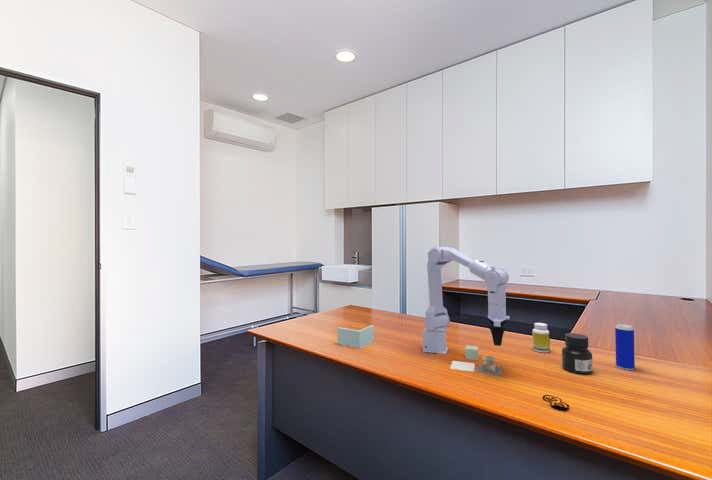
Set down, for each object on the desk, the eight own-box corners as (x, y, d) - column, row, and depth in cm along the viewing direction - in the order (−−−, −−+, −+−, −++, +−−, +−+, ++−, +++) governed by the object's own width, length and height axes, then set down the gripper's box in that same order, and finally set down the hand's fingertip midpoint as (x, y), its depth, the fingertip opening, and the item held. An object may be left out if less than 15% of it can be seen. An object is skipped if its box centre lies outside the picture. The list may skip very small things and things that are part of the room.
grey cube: (483, 370, 113) (482, 359, 113) (483, 366, 117) (483, 355, 117) (495, 372, 112) (495, 360, 112) (495, 368, 115) (495, 356, 115)
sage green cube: (465, 360, 125) (465, 348, 125) (466, 356, 129) (466, 345, 129) (477, 361, 123) (477, 350, 123) (478, 357, 127) (478, 346, 127)
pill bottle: (552, 353, 130) (551, 326, 130) (535, 352, 132) (535, 325, 132) (546, 348, 136) (546, 322, 137) (530, 347, 138) (530, 321, 138)
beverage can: (630, 365, 117) (629, 324, 117) (637, 371, 112) (636, 328, 112) (613, 364, 118) (612, 323, 118) (619, 369, 113) (618, 327, 113)
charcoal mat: (476, 373, 112) (476, 372, 112) (477, 365, 120) (477, 363, 120) (501, 377, 109) (501, 375, 109) (501, 368, 116) (501, 366, 116)
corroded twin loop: (556, 412, 87) (556, 408, 87) (538, 398, 95) (538, 394, 95) (574, 412, 87) (574, 408, 87) (554, 397, 95) (554, 394, 95)
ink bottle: (582, 377, 108) (582, 341, 108) (556, 368, 116) (555, 334, 116) (598, 371, 112) (597, 336, 112) (571, 363, 120) (571, 330, 120)
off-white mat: (450, 369, 116) (450, 368, 116) (452, 362, 123) (452, 360, 123) (473, 373, 113) (473, 371, 113) (475, 364, 120) (474, 363, 120)
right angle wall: (373, 341, 150) (373, 325, 150) (359, 348, 140) (359, 331, 140) (352, 337, 157) (352, 322, 157) (337, 344, 147) (337, 327, 147)
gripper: (510, 308, 106) (510, 349, 106) (508, 300, 119) (509, 337, 119) (487, 306, 108) (487, 347, 108) (487, 299, 122) (488, 335, 122)
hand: (497, 342), depth 114 cm, fingers open, 7 cm apart
